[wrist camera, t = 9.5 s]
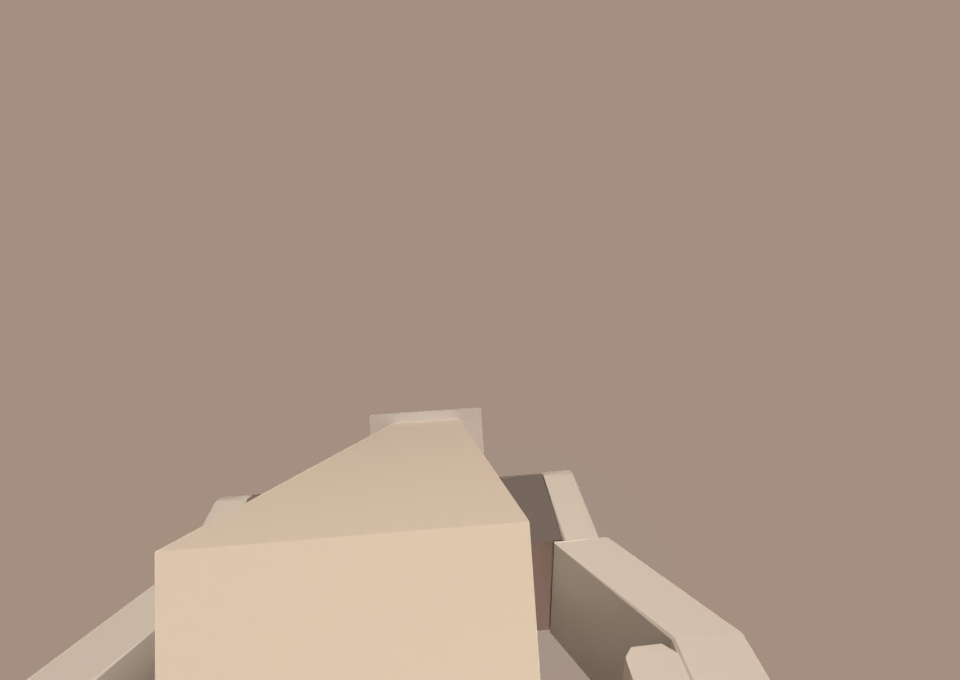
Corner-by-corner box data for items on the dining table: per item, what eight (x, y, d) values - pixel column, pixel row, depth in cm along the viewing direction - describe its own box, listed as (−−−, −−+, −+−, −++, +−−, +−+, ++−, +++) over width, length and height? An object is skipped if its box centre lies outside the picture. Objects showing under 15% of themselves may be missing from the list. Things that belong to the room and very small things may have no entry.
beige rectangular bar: (-1, 996, 4) (12, 508, 4) (375, 487, 23) (372, 414, 24) (690, 899, 4) (648, 460, 4) (483, 479, 24) (479, 407, 24)
